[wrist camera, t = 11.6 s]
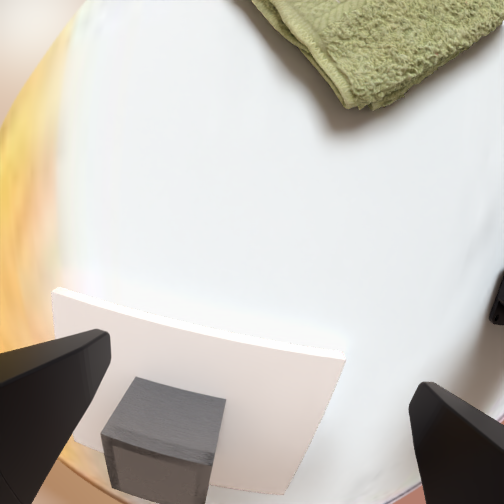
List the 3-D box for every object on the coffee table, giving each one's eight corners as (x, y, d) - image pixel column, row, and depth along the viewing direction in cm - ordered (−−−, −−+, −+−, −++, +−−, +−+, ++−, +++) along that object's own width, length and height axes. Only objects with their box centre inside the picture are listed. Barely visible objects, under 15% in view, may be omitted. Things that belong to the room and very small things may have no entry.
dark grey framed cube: (226, 399, 20) (212, 466, 14) (215, 454, 21) (202, 513, 16) (135, 376, 20) (100, 433, 14) (137, 434, 22) (112, 487, 16)
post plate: (343, 351, 20) (359, 399, 15) (283, 487, 24) (283, 529, 19) (59, 286, 20) (16, 313, 15) (78, 434, 24) (56, 468, 19)
